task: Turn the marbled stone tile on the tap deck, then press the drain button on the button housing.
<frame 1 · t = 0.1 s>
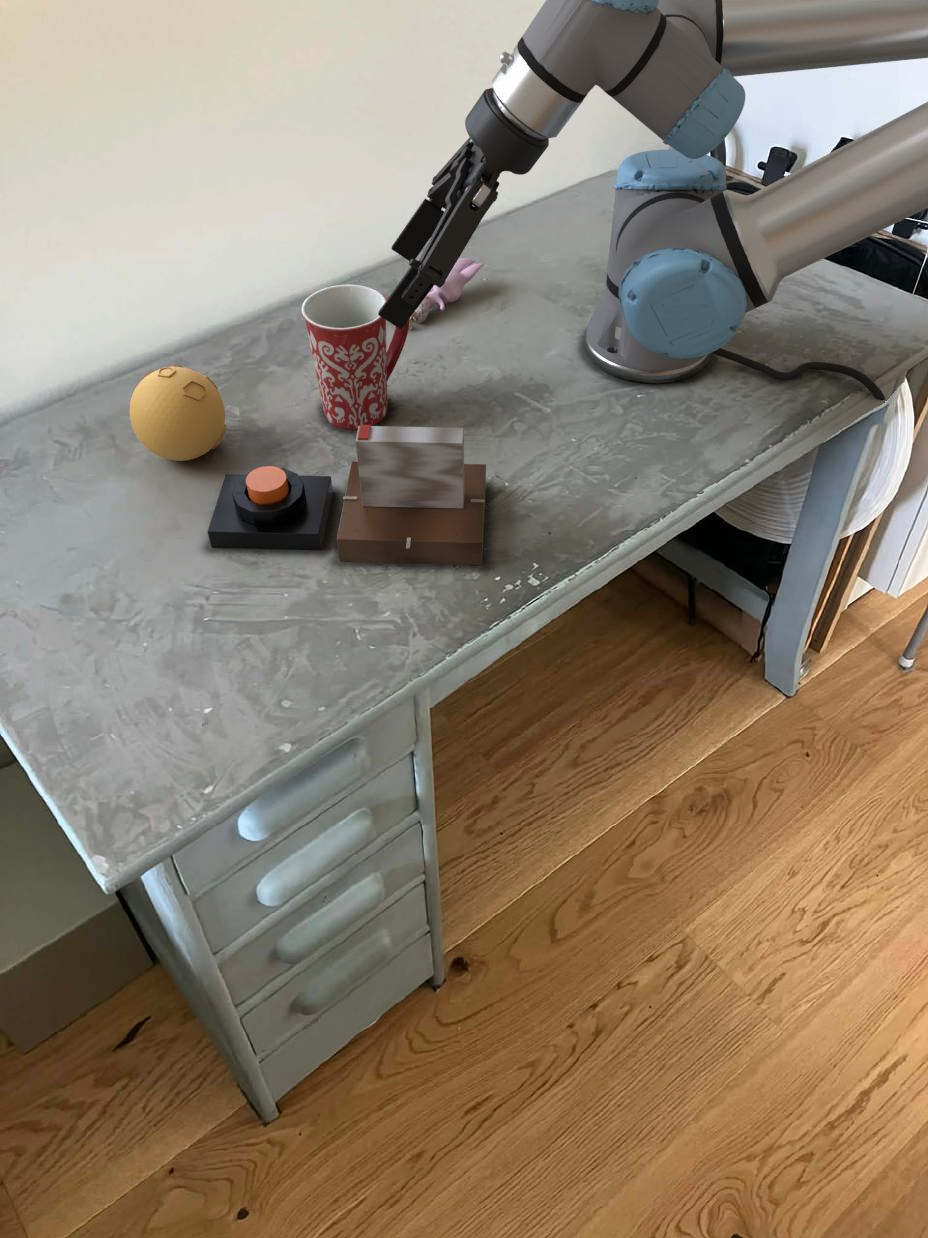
hand: (396, 286, 106), 15 cm above the table, tool tilted 35°, fingers open, 13 cm apart
tap deck: (415, 522, 104), on the table
mug: (368, 407, 118), on the table
rabbit figure: (441, 305, 133), on the table
drain button: (267, 485, 101), point 4 cm above the table, slide at 0.1 cm
button housing: (274, 519, 104), on the table
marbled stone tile: (411, 466, 99), point 7 cm above the table, hinge at 0.0°
stress ball: (188, 452, 112), on the table
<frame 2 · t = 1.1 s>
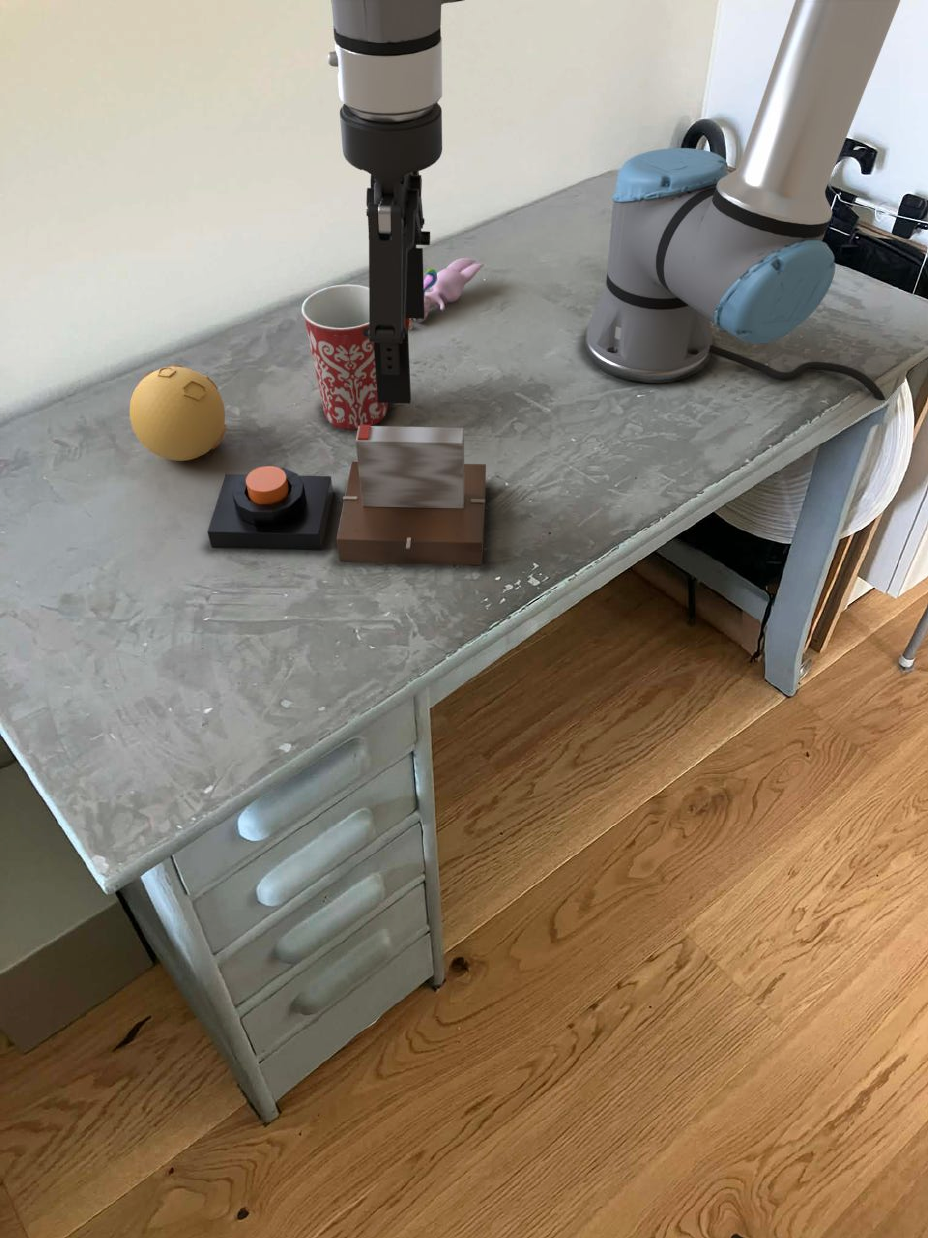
hand: (402, 356, 90), 19 cm above the table, tool pointing down, fingers open, 13 cm apart
nothing on the table moved.
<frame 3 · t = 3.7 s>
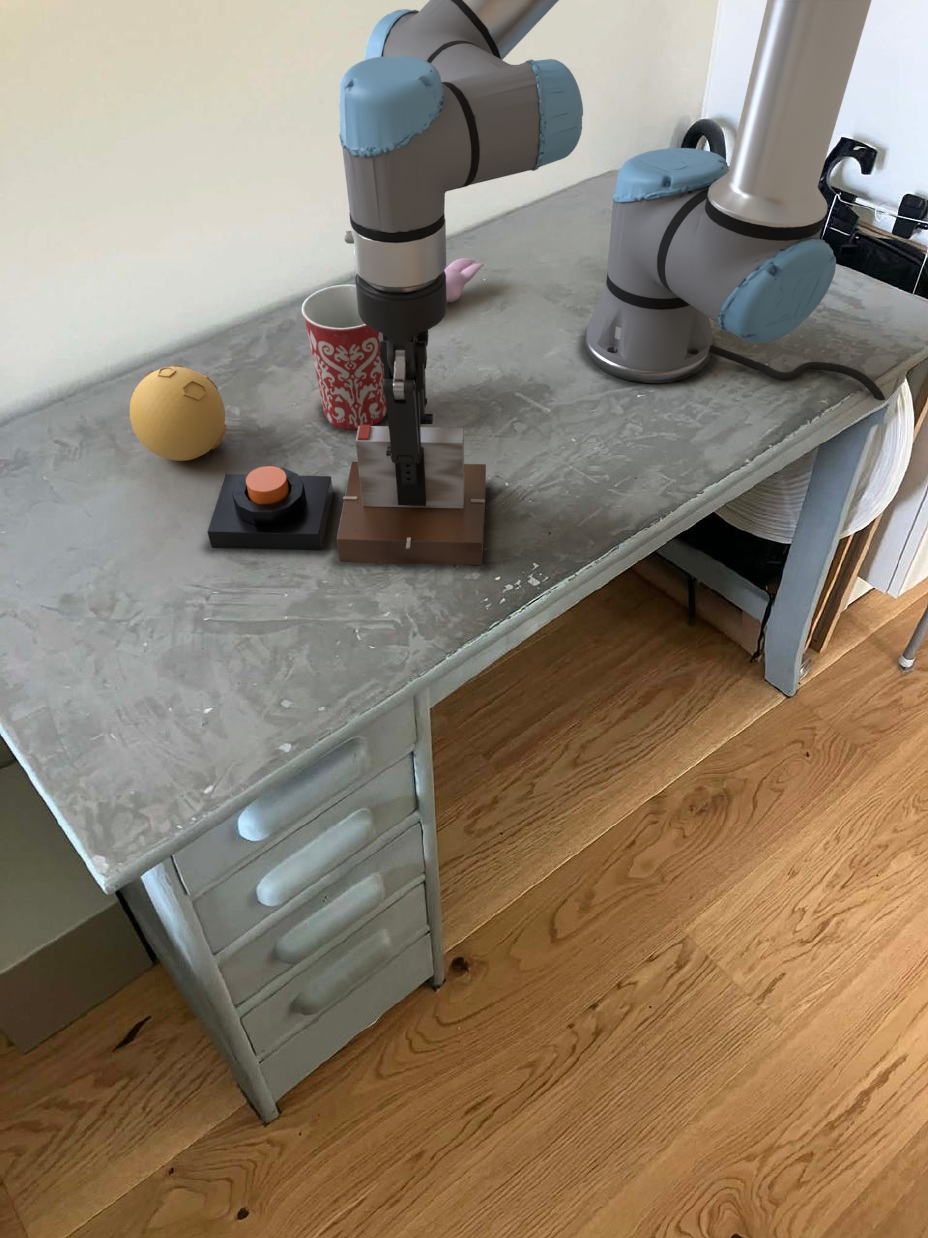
hand: (413, 492, 101), 4 cm above the table, tool pointing down, fingers closed on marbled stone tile, 2 cm apart
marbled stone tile: (411, 466, 99), point 7 cm above the table, hinge at 0.0°, touching gripper
everything else where it was.
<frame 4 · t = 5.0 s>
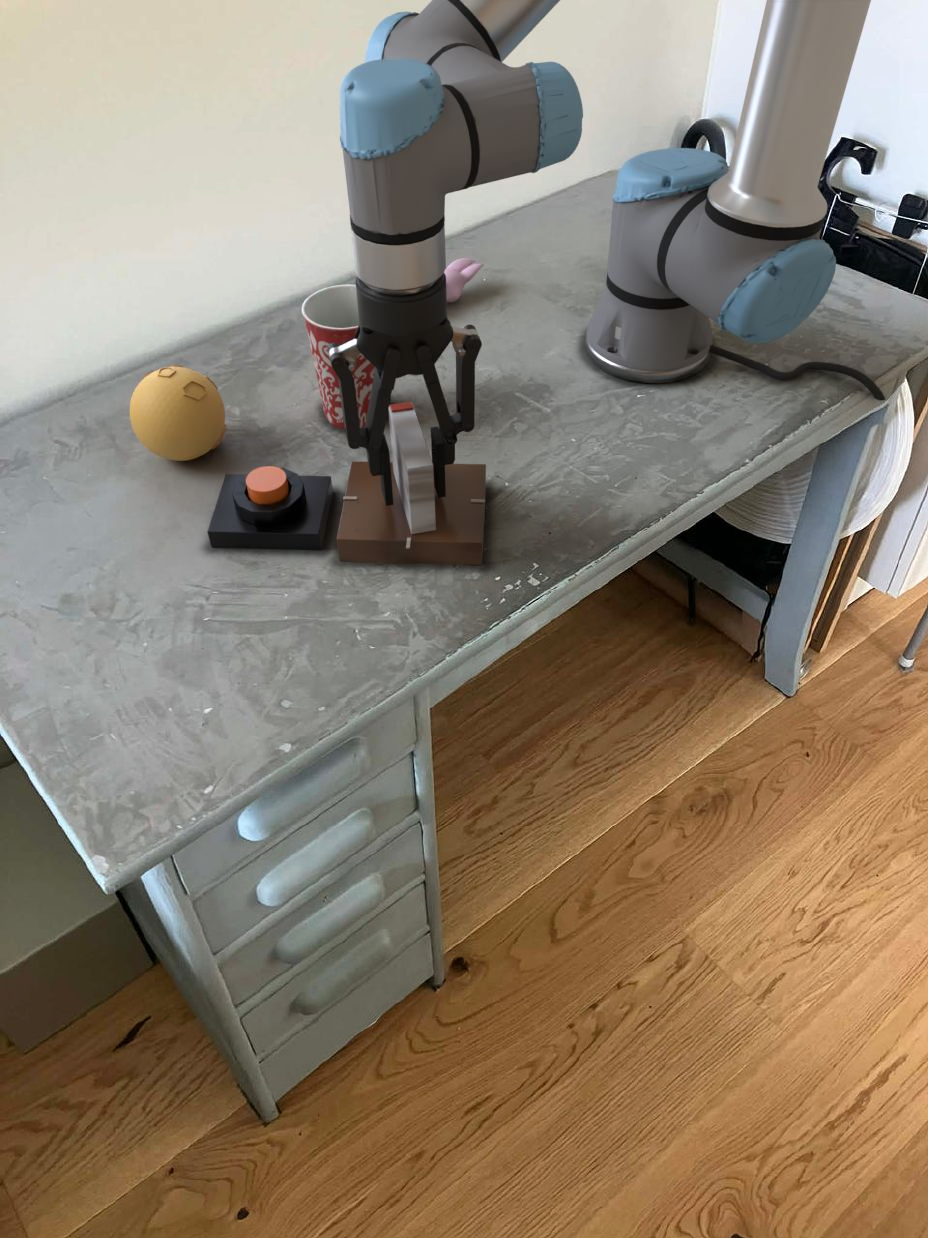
hand: (413, 492, 101), 4 cm above the table, tool pointing down, fingers open, 4 cm apart
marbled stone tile: (411, 466, 99), point 7 cm above the table, hinge at -74.4°
everything else where it was.
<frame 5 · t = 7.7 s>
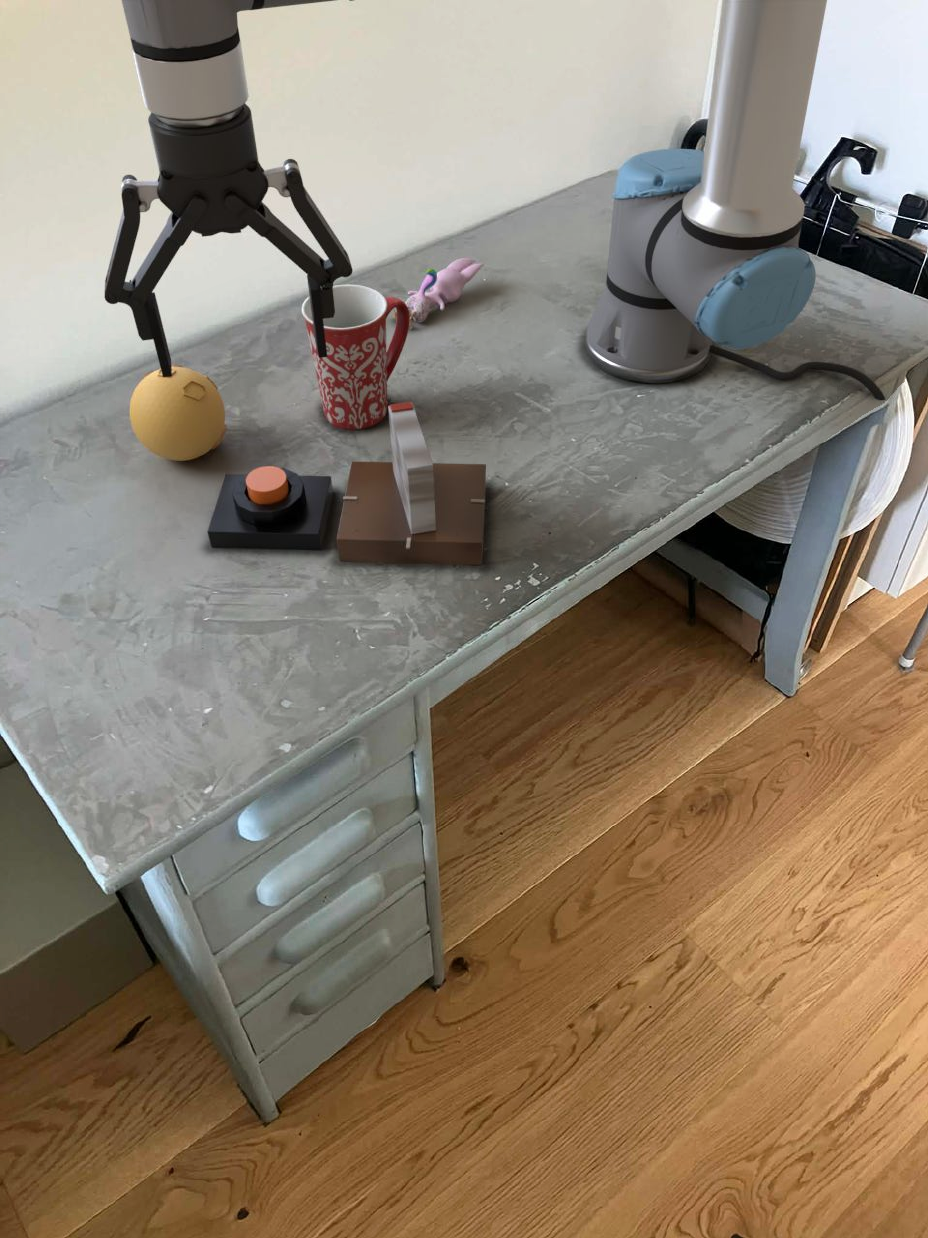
hand: (245, 359, 91), 19 cm above the table, tool pointing down, fingers open, 13 cm apart
nothing on the table moved.
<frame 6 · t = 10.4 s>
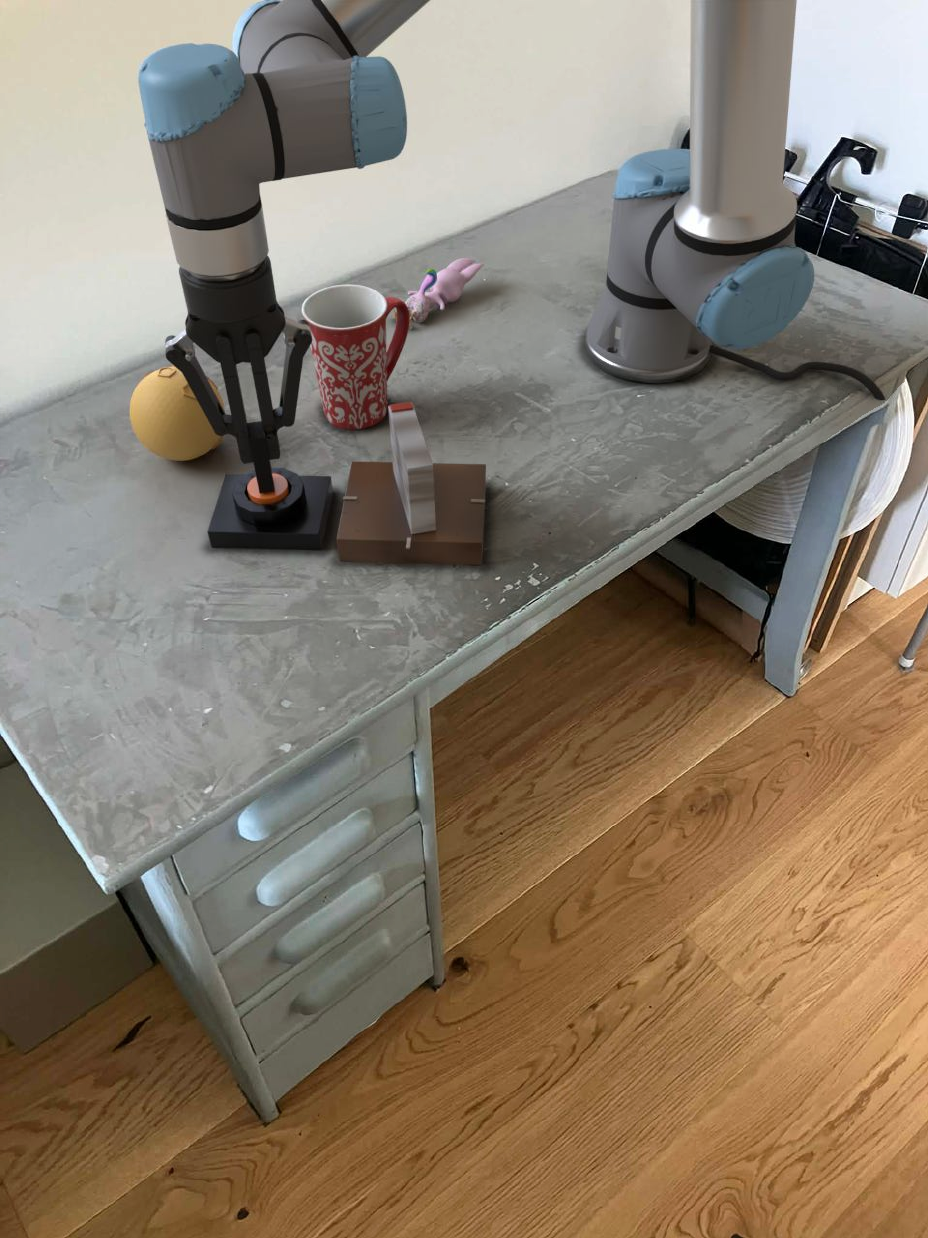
hand: (266, 483, 101), 5 cm above the table, tool pointing down, fingers closed
drain button: (268, 492, 102), point 4 cm above the table, slide at -0.8 cm, touching gripper
everything else where it was.
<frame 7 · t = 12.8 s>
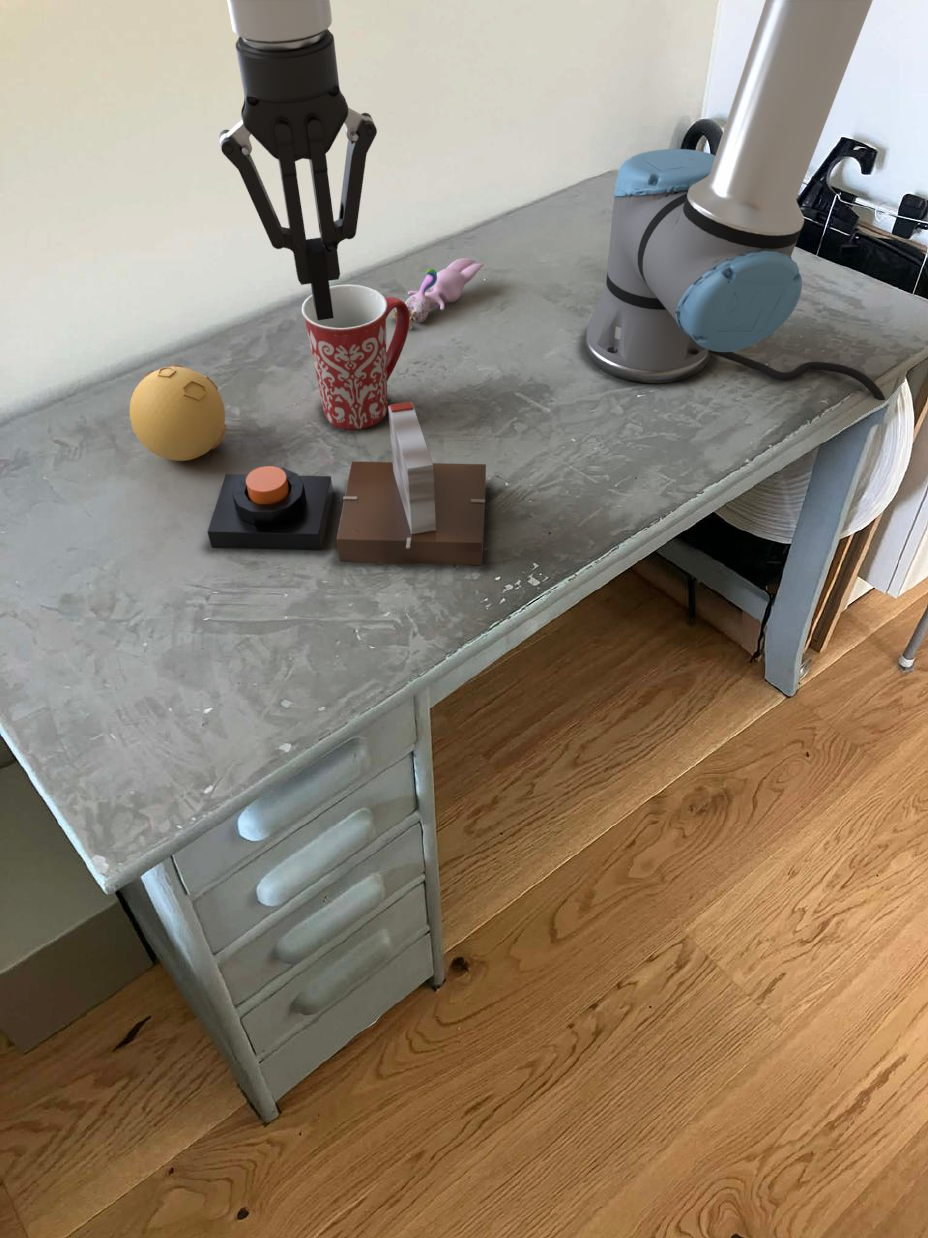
hand: (323, 311, 95), 19 cm above the table, tool pointing down, fingers closed
drain button: (267, 485, 101), point 4 cm above the table, slide at 0.1 cm
everything else where it was.
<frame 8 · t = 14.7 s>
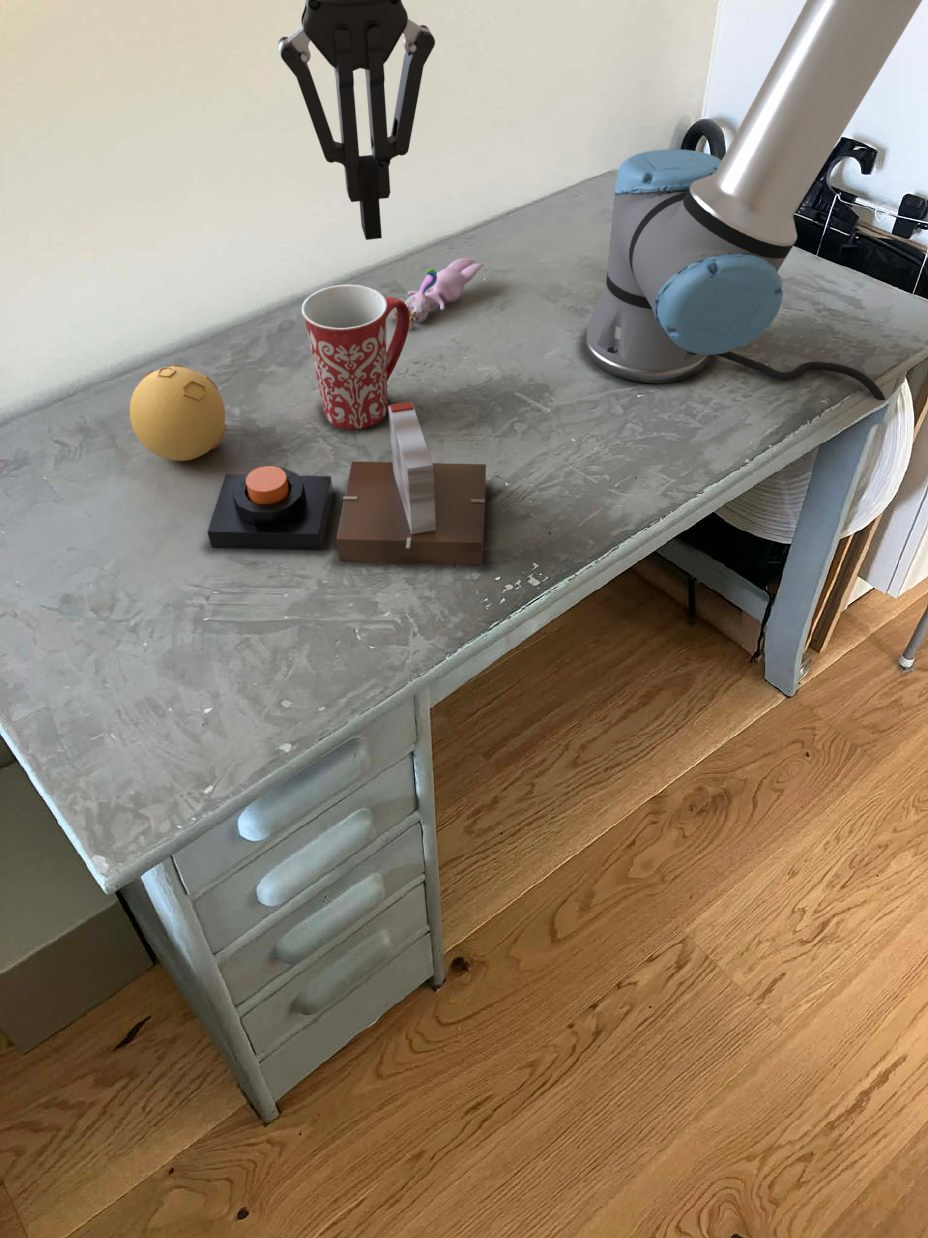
hand: (371, 231, 95), 24 cm above the table, tool pointing down, fingers closed
nothing on the table moved.
at the end: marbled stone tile at -74° (first picture: +0°); drain button pushed in 1.0 cm at the most during the clip, back to where it started at the end; drain button slide at 0.1 cm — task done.
